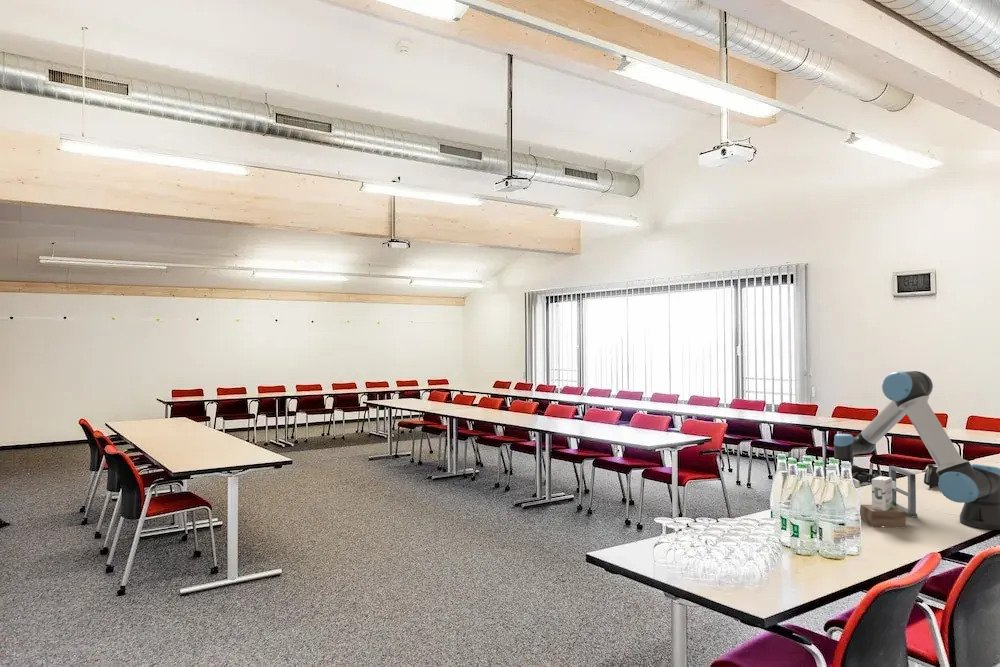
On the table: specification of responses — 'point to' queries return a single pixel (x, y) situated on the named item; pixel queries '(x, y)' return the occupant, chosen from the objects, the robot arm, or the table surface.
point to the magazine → (931, 476)
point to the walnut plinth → (883, 516)
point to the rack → (911, 491)
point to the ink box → (882, 493)
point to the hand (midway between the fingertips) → (876, 485)
